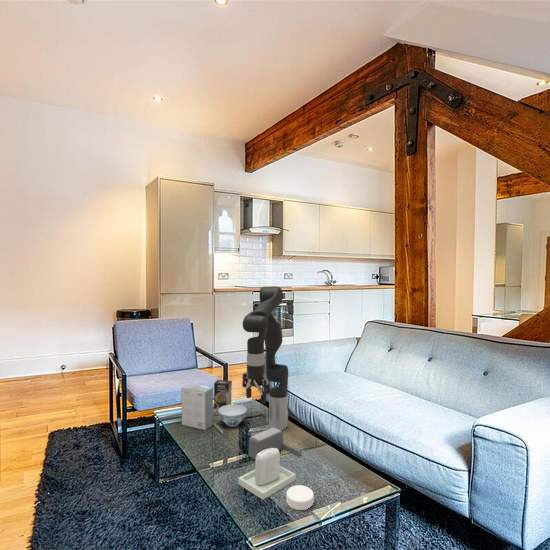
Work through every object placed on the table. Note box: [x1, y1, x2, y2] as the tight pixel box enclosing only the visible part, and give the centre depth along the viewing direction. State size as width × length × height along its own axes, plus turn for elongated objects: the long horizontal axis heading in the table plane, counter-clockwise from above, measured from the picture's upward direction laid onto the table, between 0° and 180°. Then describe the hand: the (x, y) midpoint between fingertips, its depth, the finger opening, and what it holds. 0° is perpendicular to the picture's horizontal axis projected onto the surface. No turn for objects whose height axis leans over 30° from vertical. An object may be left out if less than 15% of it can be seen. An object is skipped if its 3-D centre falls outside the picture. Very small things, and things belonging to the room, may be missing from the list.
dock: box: [248, 427, 302, 460], centre depth 170 cm, size 18×16×9 cm
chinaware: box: [217, 403, 248, 428], centre depth 203 cm, size 15×15×8 cm
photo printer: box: [254, 448, 281, 485], centre depth 150 cm, size 10×4×12 cm, turn 125°
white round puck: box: [285, 484, 315, 511], centre depth 138 cm, size 10×10×4 cm
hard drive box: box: [181, 383, 214, 431], centre depth 201 cm, size 16×8×20 cm, turn 65°
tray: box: [237, 465, 297, 501], centre depth 150 cm, size 18×14×2 cm
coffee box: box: [213, 379, 233, 411], centre depth 223 cm, size 9×6×16 cm
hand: (255, 400), depth 161 cm, fingers open, 8 cm apart
